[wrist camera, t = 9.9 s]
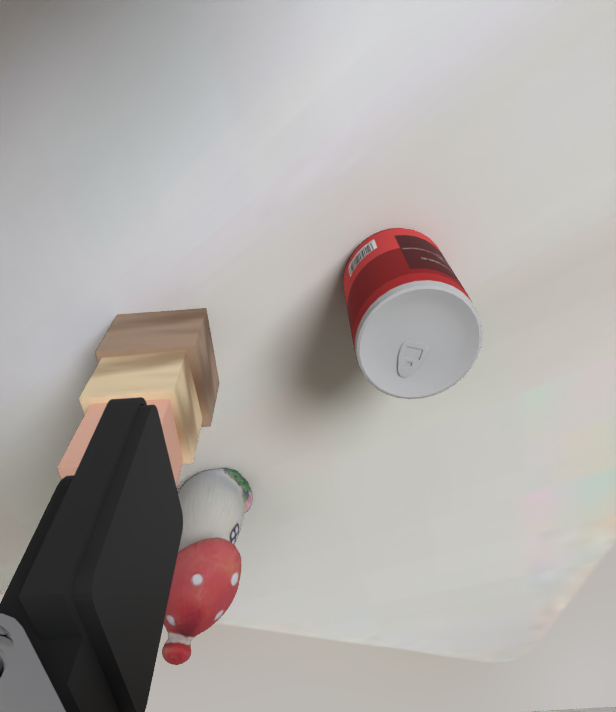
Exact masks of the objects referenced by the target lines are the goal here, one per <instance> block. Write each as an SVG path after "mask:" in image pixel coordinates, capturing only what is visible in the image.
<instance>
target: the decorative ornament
mask: <svg viewBox="0 0 616 712" xmlns="http://www.w3.org/2000/svg"><path fill="white" fill-rule="evenodd" d="M178 496H179V500H180V504H181V508H182V513H183V531H182V536H181V541H180V546H179V551H178V555H177V560H176V565H175V570H174V575H173V580H172V584H171V589H170V594H169V599H168V604H167V609H166V613H165V618H164V623H163V624H164V625H165V627H166V629H167V631H168V640H167V641H166V643H165V645H164V647H163V649H162V654H163V657H164V659H165V660H166V661H167V662H168V663H170V664H174V665H179V664H182V663H184V662H185V661H187V660H188V659H189V657H190V655H191V647H190V646H191V643H190V642H191V640H192V639H193V637H195V636H196V635H198V634H200V633H201V632H203V631H205V630H207V629H208V628H209V627H211V626H212V625H213V624H214V623H215V622H216V621H217V620H218V619H219V618H220V617H221V616H222V615H223V614H224V613H225V612H226V610H227V609H228V607H229V606H230V604H231V603H232V601H233V599H234V597H235V594H236V592H237V589H238V585H239V580H240V573H241V557H240V554H239V552H238V550H237V549H236V547H235V545H234V544H235V542H236V540H237V538H238V535H239V532H240V530H241V526H242V521H243V515H244V513H246V512H247V511H248V510H249V509H250V508H251V505H252V499H253V496H252V491H251V489H250V486H249V484H248V482H247V481H246V480H245V479H244V478H243V477H242V476H241V475H240V474H239V473H238V472H237V471H235V470H231V469H228V468H221V469H213V470H206V471H203V472H201V473H197V474H196V475H195V476H193V477H192V478H190V479H189V480H188V481H187V482H186V483H185V484H184V485H183V487H182V488H181V489H180V491H179V493H178Z"/></svg>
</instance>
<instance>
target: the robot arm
mask: <svg viewBox="0 0 616 712" xmlns="http://www.w3.org/2000/svg"><path fill="white" fill-rule="evenodd" d="M182 531H183V513H182V508H181V504H180V500H179V496H178V492H177V488H176V483H175V479H174V475H173V471H172V467H171V463H170V459H169V454H168V450H167V446H166V442H165V438H164V434H163V430H162V425H161V421H160V417H159V413H158V410H157V407H156V405H147V403H146V401H145V399H144V398H142V397H138V398H122V399H111V400H109V402H108V403H107V405H106V407H105V409H104V412H103V414H102V416H101V418H100V420H99V423H98V425H97V427H96V429H95V431H94V433H93V436H92V438H91V440H90V442H89V444H88V446H87V449H86V451H85V453H84V455H83V457H82V459H81V462H80V464H79V466H78V468H77V470H76V472H75V475H71V476H66V477H64V478H63V479H62V480H61V481H60V483H59V484H58V486H57V488H56V490H55V492H54V494H53V496H52V498H51V500H50V502H49V504H48V506H47V508H46V510H45V512H44V514H43V516H42V519H41V521H40V523H39V525H38V527H37V529H36V531H35V533H34V535H33V537H32V539H31V541H30V543H29V545H28V547H27V549H26V552H25V554H24V556H23V558H22V560H21V562H20V564H19V566H18V568H17V570H16V572H15V574H14V576H13V578H12V580H11V582H10V584H9V587H8V589H7V591H6V593H5V595H4V597H3V599H2V601H1V603H0V712H145V709H146V705H147V700H148V696H149V691H150V686H151V681H152V676H153V671H154V666H155V662H156V657H157V652H158V647H159V643H160V638H161V633H162V628H163V623H164V618H165V613H166V609H167V604H168V599H169V594H170V589H171V584H172V580H173V575H174V570H175V565H176V560H177V555H178V551H179V546H180V541H181V536H182ZM534 712H616V707H606V708H588V709H569V710H552V711H534Z"/></svg>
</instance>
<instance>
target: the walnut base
mask: <svg viewBox="0 0 616 712" xmlns="http://www.w3.org/2000/svg"><path fill="white" fill-rule="evenodd" d="M180 350H187V354H188V359H189V363H190V367H191V371H192V376H193V380H194V384H195V389H196V393H197V397H198V401H199V406H200V410H201V414H202V424H201V427H206V426H211V422H212V417H213V412H214V407H215V402H216V397H217V392H218V387H219V378H218V373H217V367H216V361H215V355H214V350H213V344H212V338H211V333H210V327H209V321H208V316H207V310H206V308H202V309H188V310H175V311H161V312H147V313H133V314H120V315H117V316H116V318H115V320H114V321H113V323H112V325H111V326H110V328H109V330H108V332H107V333H106V335H105V337H104V338H103V340H102V342H101V343H100V345H99V347H98V349H97V350H96V352H95V354H96V358H97V361H98V363H99V362H100V360H101V358H106V357H116V356H127V355H137V354H148V353H159V352H169V351H180Z"/></svg>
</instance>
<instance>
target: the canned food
mask: <svg viewBox="0 0 616 712" xmlns="http://www.w3.org/2000/svg"><path fill="white" fill-rule="evenodd" d="M344 292H345V298H346V304H347V310H348V315H349V321H350V327H351V333H352V339H353V344H354V349H355V353H356V358H357V361H358V364H359V366H360V368H361V370H362V373H363V375H364V376H365V377H366V379H367V380H368V381H369V382H370V383H371V384H372V385H373V386H374V387H375V388H377V389H378V390H380V391H382V392H384V393H385V394H387V395H391V396H394V397H397V398H405V399H418V398H425V397H429V396H433V395H435V394H438V393H440V392H443V391H445V390H446V389H448V388H450V387H451V386H453V385H455V384H456V383H457V382H458V381H459V380H461V379H462V378H463V377H464V376H465V375H466V373H467V372H468V371H469V370H470V369H471V367H472V365H473V364H474V362H475V360H476V359H477V356H478V353H479V351H480V348H481V342H482V326H481V322H480V319H479V316H478V313H477V310H476V308H475V307H474V305H473V303H472V301H471V299H470V298H469V296H468V294H467V293H466V291H465V290H464V288H463V287H462V285H461V283H460V282H459V280H458V279H457V277H456V276H455V274H454V272H453V271H452V269H451V268H450V266H449V265H448V263H447V261H446V260H445V258H444V257H443V255H442V254H441V252H440V250H439V249H438V247H437V246H436V245H435V243H434V242H433V241H432V240H431V239H430V238H428V237H427V236H425V235H423V234H422V233H419V232H417V231H414V230H410V229H403V228H392V229H387V230H383V231H380V232H378V233H376V234H373V235H371V236H370V237H369V238H367V239H366V240H364V241H363V242H362V243H361V244H360V245H359V246H358V247H357V249H356V250H355V251H354V253H353V255H352V256H351V258H350V259H349V262H348V264H347V266H346V269H345V274H344Z"/></svg>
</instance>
